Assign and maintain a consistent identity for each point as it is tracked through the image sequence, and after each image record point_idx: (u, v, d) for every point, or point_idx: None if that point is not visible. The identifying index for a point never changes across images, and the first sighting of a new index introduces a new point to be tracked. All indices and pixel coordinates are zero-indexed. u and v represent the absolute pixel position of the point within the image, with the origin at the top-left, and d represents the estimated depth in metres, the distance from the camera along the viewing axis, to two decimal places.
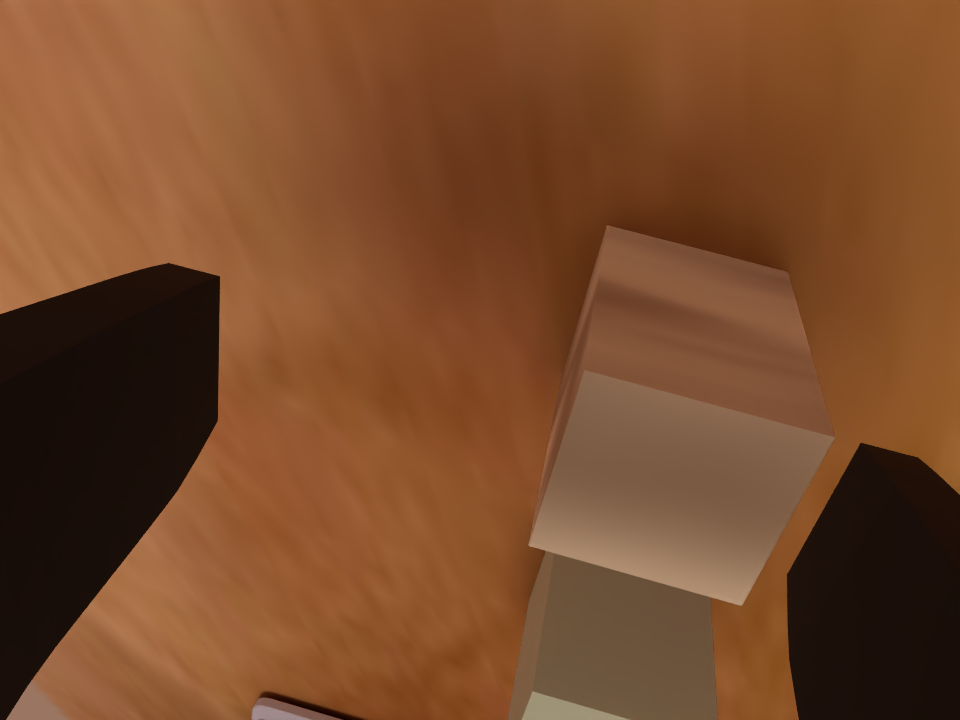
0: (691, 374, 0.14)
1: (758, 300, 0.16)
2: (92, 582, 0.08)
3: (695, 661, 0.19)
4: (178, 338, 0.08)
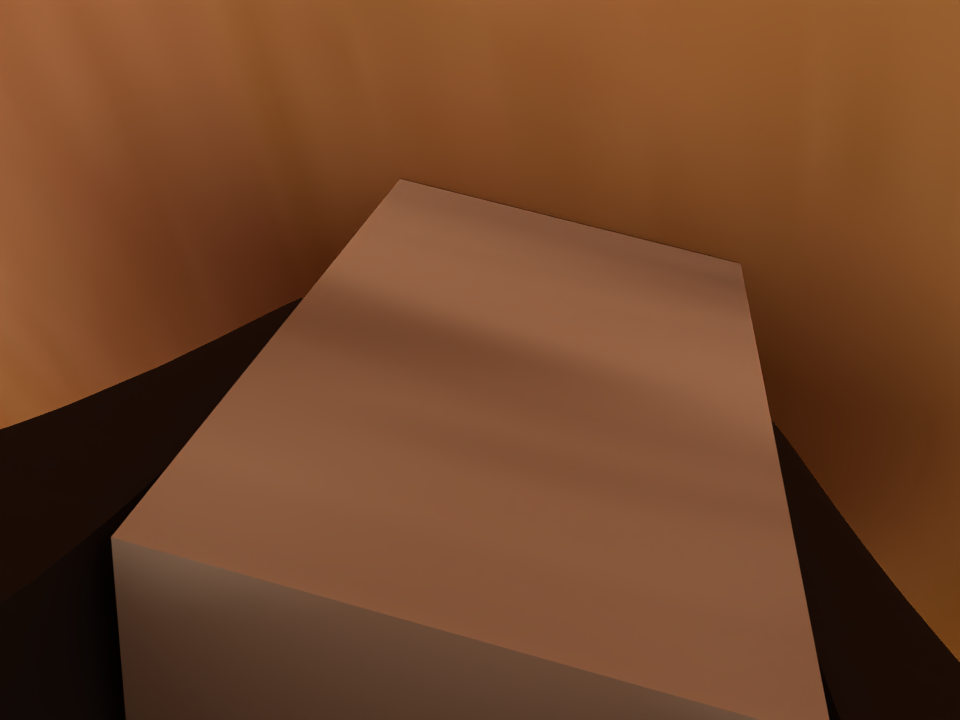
0: (444, 528, 0.05)
1: (671, 321, 0.08)
2: None
3: None
4: None
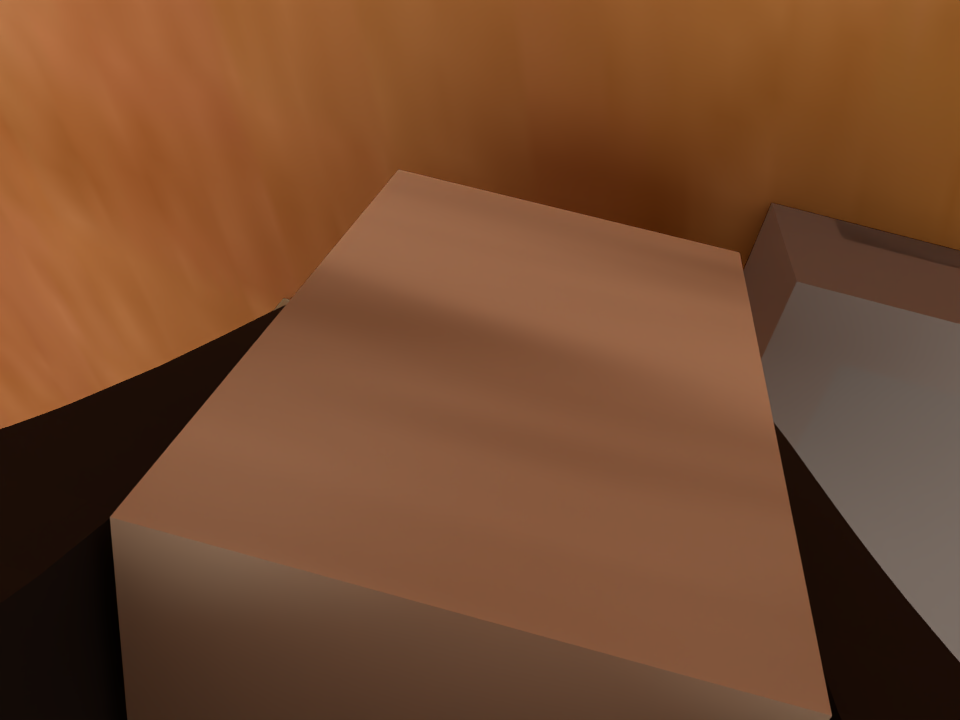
0: (444, 508, 0.05)
1: (670, 308, 0.08)
2: None
3: None
4: None
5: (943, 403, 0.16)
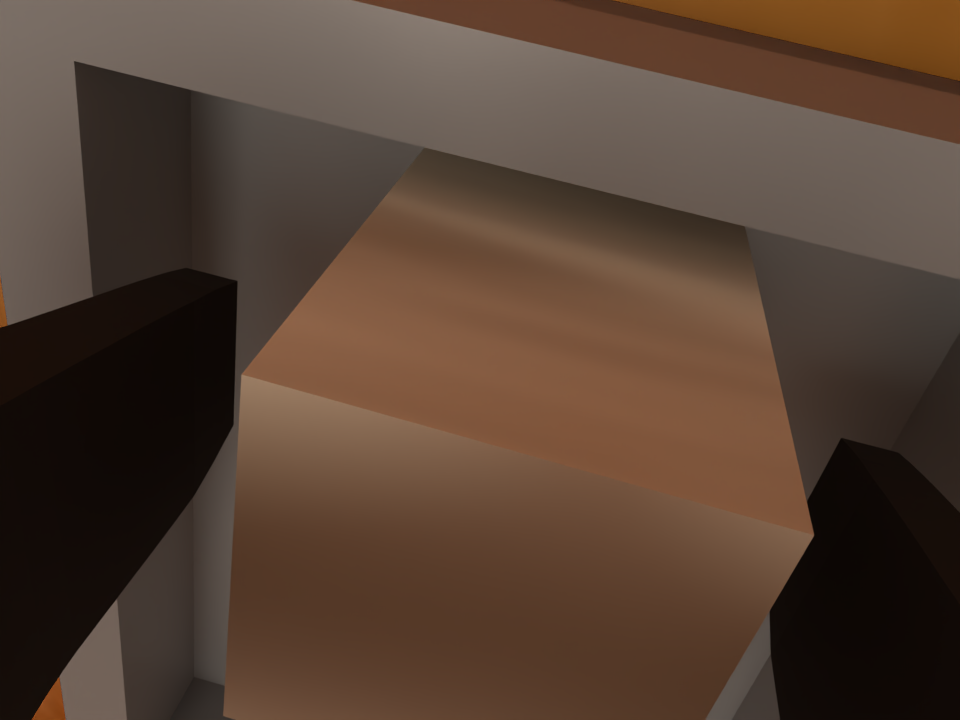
0: (502, 383, 0.06)
1: (681, 250, 0.09)
2: (112, 588, 0.08)
3: None
4: (197, 343, 0.08)
5: None
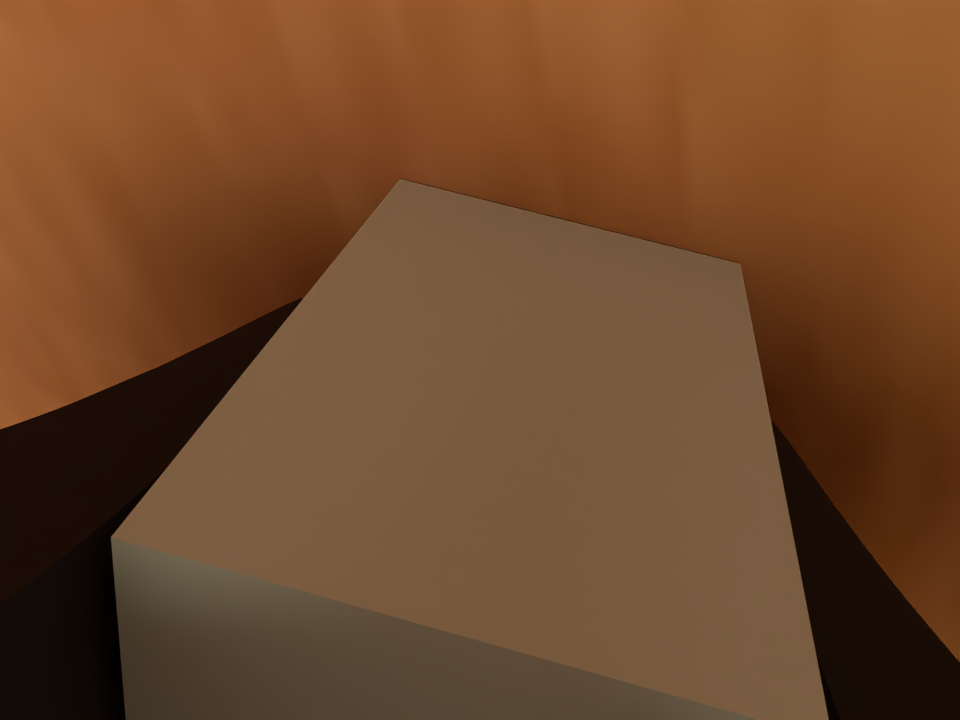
0: None
1: None
2: None
3: (725, 478, 0.06)
4: None
5: None
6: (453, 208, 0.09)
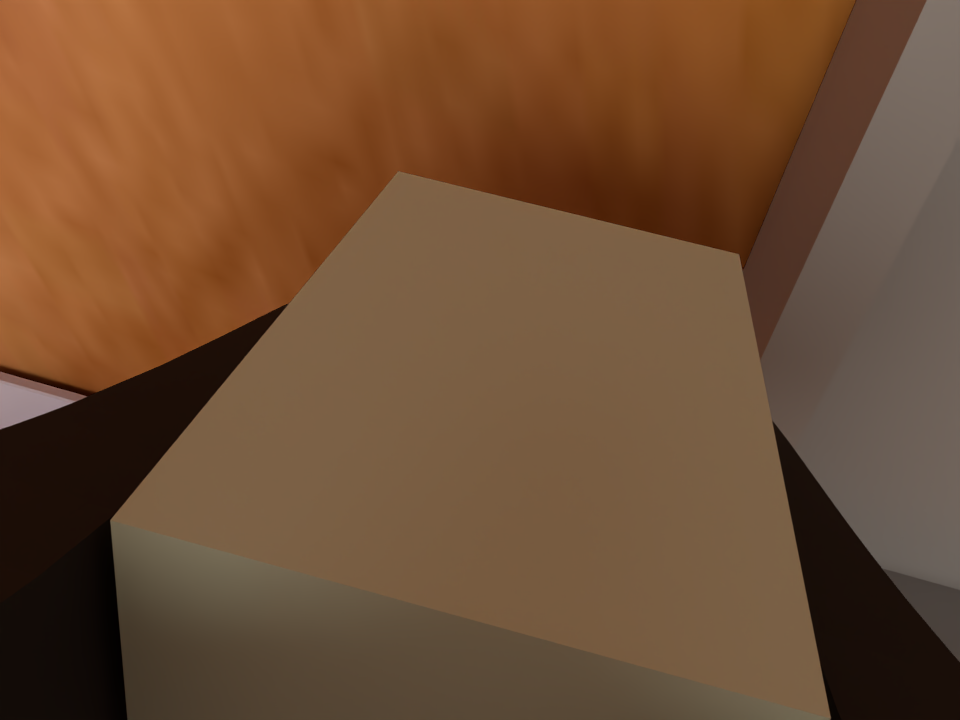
0: None
1: None
2: None
3: (722, 463, 0.06)
4: None
5: None
6: (452, 200, 0.09)
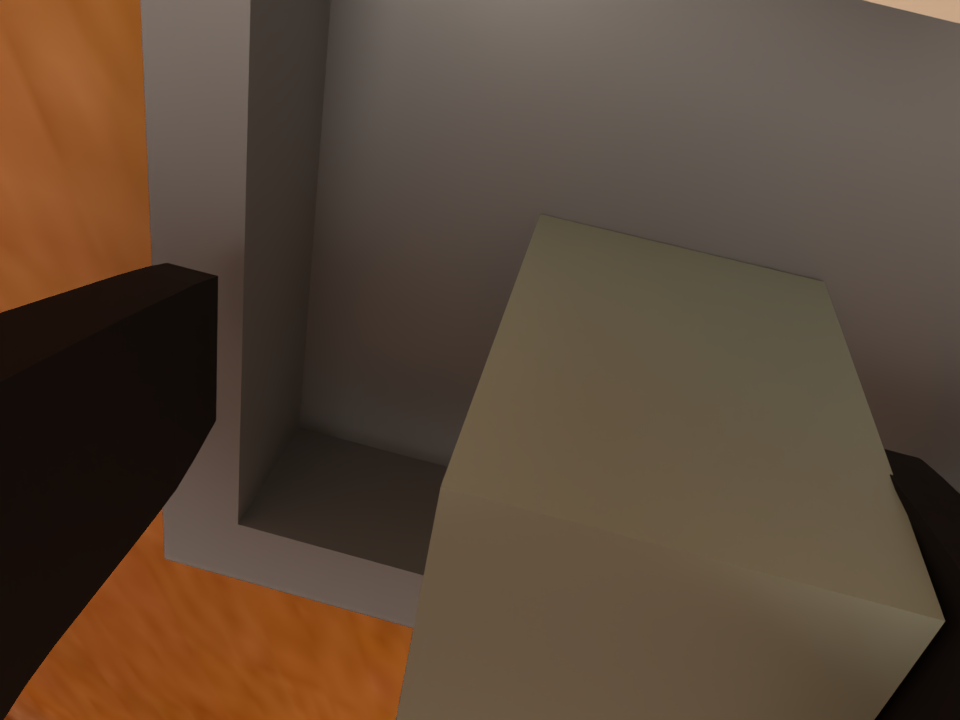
0: None
1: None
2: (90, 581, 0.08)
3: (842, 450, 0.08)
4: (176, 337, 0.08)
5: None
6: (589, 238, 0.11)
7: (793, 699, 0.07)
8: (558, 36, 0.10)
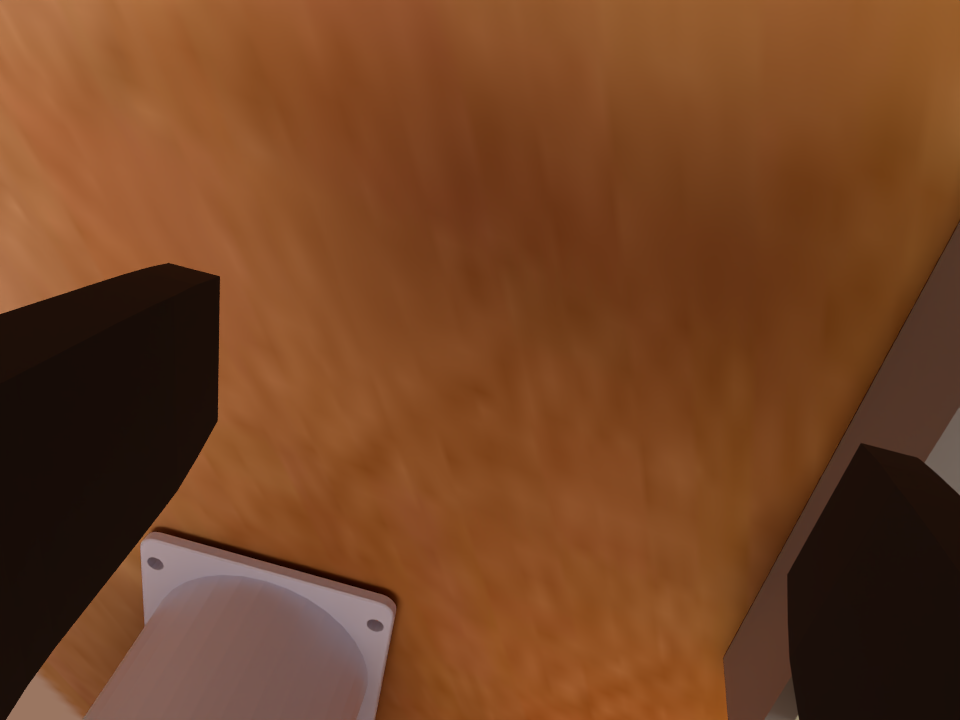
0: None
1: None
2: (92, 582, 0.08)
3: None
4: (178, 338, 0.08)
5: None
6: None
7: None
8: None
